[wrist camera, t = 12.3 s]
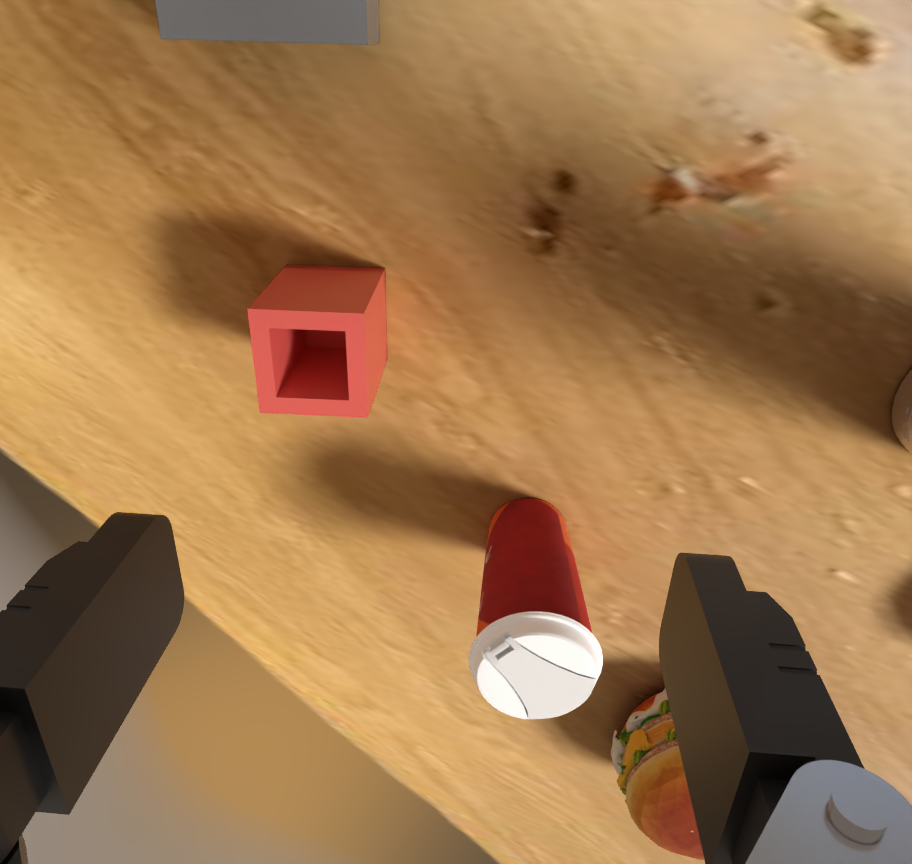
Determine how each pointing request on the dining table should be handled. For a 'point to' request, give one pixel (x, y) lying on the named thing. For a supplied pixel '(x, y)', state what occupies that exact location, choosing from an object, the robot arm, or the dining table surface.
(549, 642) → the paper cup
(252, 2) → the holder
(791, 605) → the dining table surface
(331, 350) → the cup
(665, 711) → the burger
